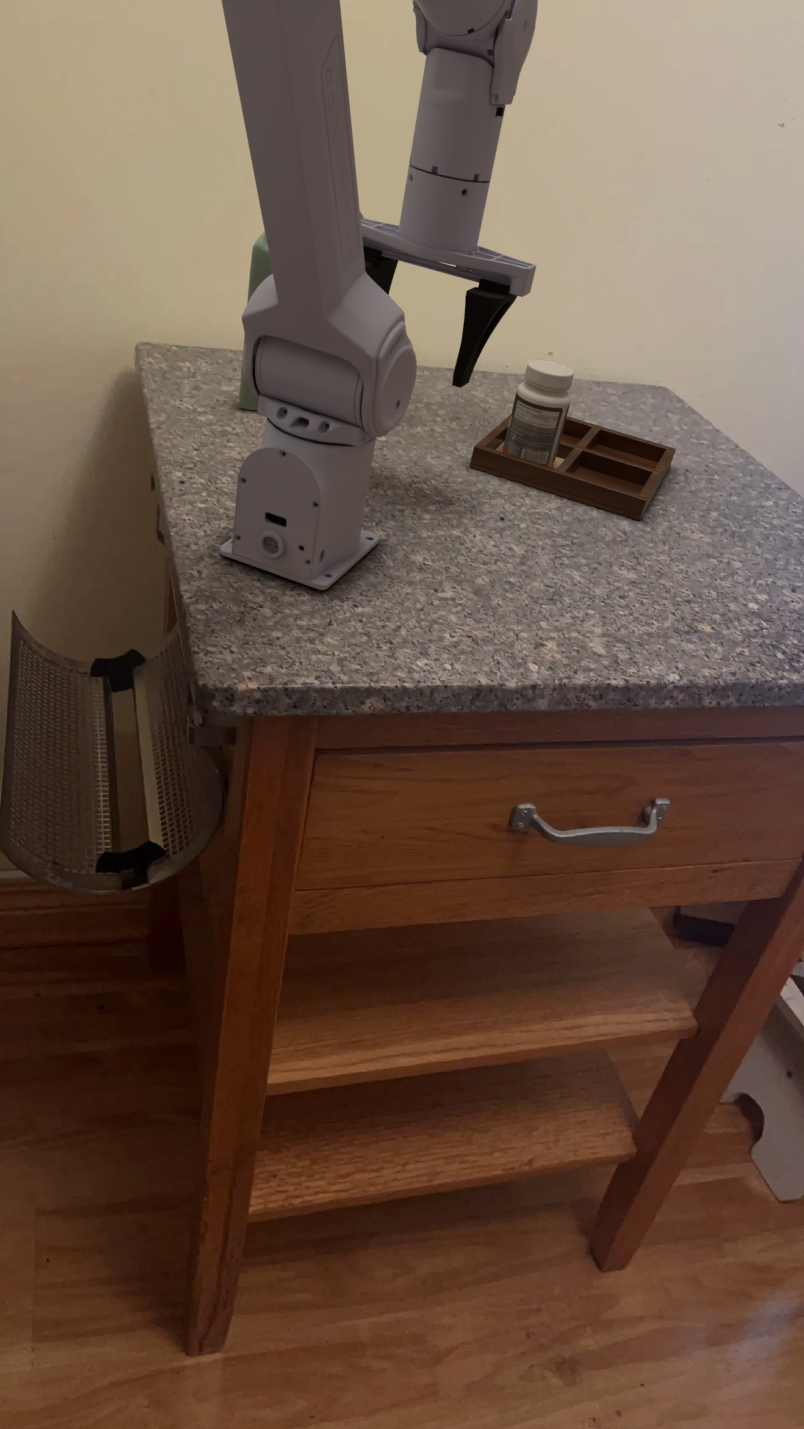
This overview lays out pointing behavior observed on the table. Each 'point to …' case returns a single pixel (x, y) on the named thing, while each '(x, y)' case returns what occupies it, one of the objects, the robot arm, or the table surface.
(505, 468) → the tray
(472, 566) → the table surface
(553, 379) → the pill bottle
